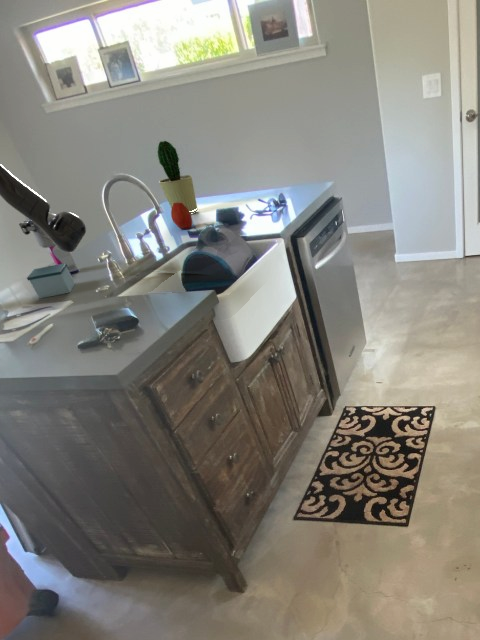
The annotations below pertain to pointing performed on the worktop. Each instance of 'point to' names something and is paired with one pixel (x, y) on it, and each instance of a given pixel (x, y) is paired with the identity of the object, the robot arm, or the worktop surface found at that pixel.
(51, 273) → the container
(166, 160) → the potted cactus
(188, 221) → the red ovoid
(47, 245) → the beverage can
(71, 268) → the supplement box
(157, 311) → the worktop surface
